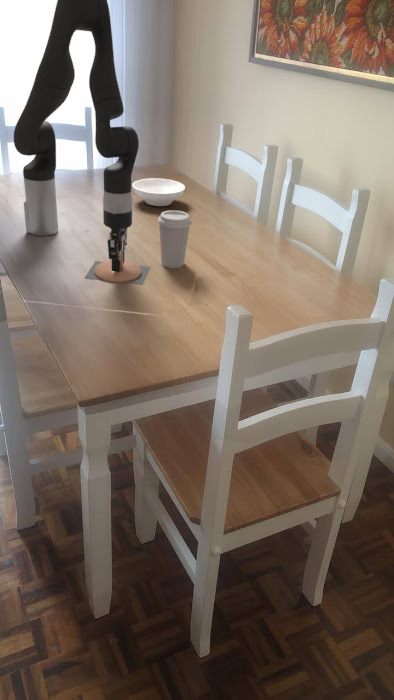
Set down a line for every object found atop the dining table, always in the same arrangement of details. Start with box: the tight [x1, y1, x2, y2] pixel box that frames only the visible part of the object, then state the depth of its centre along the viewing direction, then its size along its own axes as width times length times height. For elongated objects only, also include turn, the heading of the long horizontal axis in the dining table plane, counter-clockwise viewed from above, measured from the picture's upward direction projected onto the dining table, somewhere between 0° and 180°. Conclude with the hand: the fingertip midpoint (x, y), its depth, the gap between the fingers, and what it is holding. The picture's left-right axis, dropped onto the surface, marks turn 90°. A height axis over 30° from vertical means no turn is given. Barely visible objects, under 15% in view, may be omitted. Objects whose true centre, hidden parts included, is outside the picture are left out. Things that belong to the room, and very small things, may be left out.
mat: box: [84, 260, 151, 285], centre depth 160 cm, size 16×12×1 cm
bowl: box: [131, 177, 186, 207], centre depth 213 cm, size 20×20×7 cm
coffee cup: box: [157, 209, 193, 269], centre depth 164 cm, size 10×10×15 cm
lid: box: [94, 250, 142, 283], centre depth 158 cm, size 13×13×7 cm
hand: (118, 266), depth 159 cm, fingers open, 5 cm apart
